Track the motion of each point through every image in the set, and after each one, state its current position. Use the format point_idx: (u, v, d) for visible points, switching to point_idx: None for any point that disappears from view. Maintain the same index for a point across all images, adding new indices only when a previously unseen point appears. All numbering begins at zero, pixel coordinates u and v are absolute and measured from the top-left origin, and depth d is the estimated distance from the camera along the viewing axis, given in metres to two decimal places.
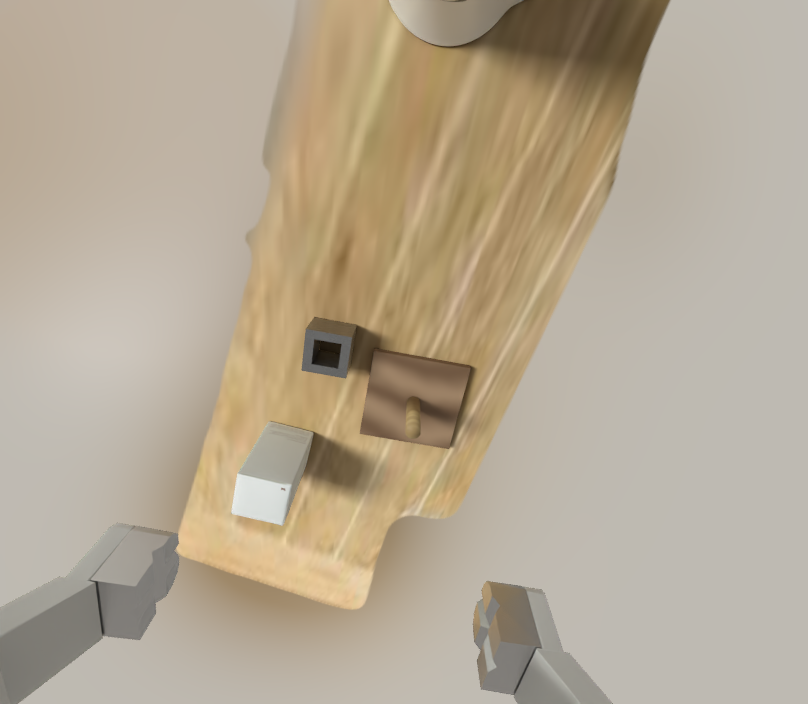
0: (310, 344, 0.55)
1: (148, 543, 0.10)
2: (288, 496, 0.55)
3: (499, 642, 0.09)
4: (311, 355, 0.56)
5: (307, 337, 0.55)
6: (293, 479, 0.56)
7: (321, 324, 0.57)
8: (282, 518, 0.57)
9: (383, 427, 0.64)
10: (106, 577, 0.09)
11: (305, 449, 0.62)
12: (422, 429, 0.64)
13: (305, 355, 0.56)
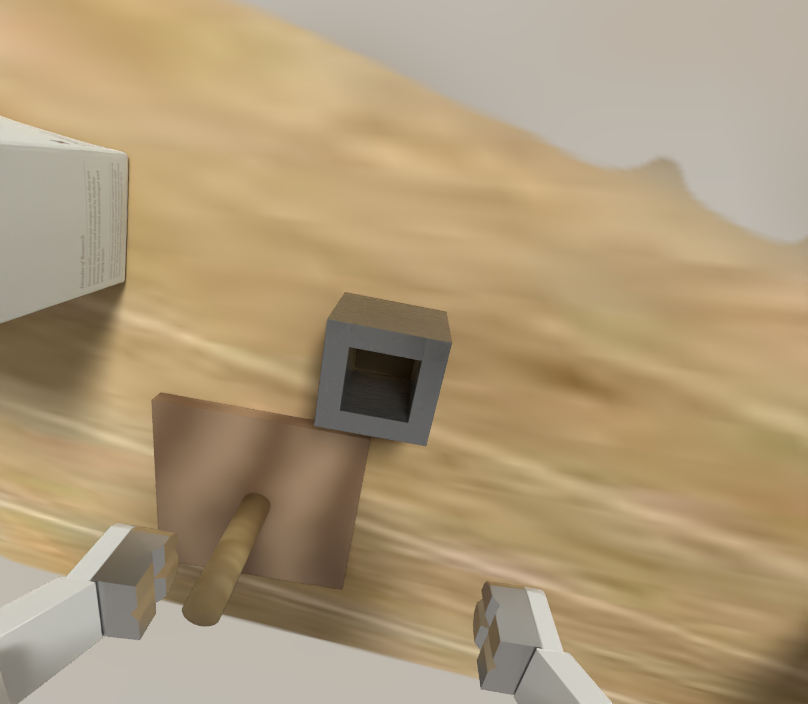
0: (408, 351, 0.20)
1: (148, 543, 0.10)
2: None
3: (499, 642, 0.09)
4: (374, 349, 0.20)
5: (427, 344, 0.20)
6: None
7: None
8: None
9: (180, 448, 0.28)
10: (106, 577, 0.09)
11: (62, 300, 0.20)
12: (194, 518, 0.30)
13: (374, 334, 0.20)
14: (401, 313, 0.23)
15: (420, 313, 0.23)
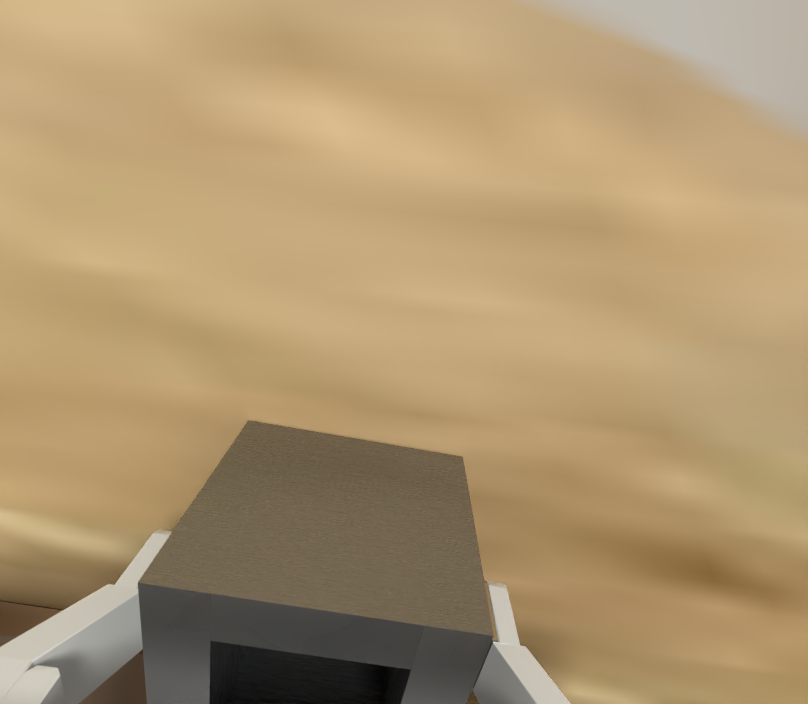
0: (373, 651, 0.07)
1: None
2: None
3: None
4: (280, 643, 0.07)
5: (424, 638, 0.07)
6: None
7: None
8: None
9: None
10: None
11: None
12: None
13: (275, 617, 0.07)
14: (363, 489, 0.10)
15: (408, 477, 0.11)
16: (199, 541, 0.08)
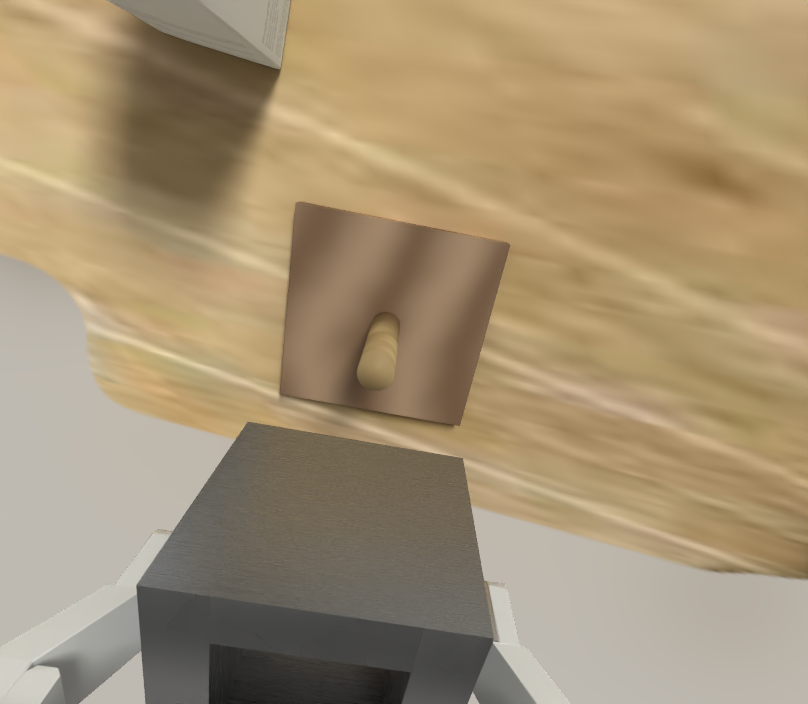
0: (372, 654, 0.07)
1: None
2: None
3: None
4: (279, 646, 0.07)
5: (424, 641, 0.07)
6: None
7: None
8: None
9: (317, 259, 0.28)
10: None
11: (252, 42, 0.21)
12: (321, 343, 0.30)
13: (274, 619, 0.07)
14: (363, 491, 0.10)
15: (407, 479, 0.11)
16: (198, 543, 0.08)
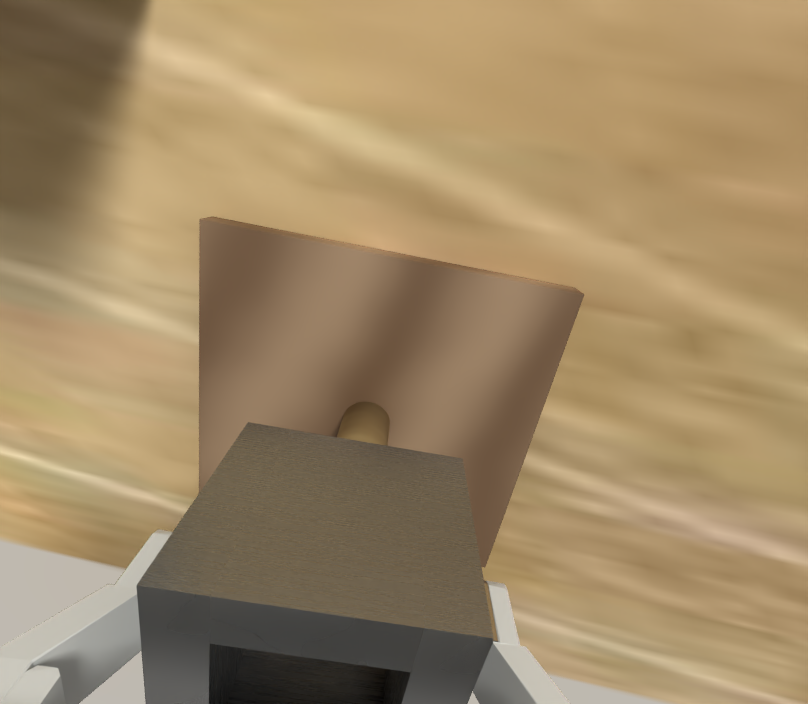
0: (372, 654, 0.07)
1: None
2: None
3: None
4: (279, 646, 0.07)
5: (424, 641, 0.07)
6: None
7: None
8: None
9: (244, 317, 0.16)
10: None
11: None
12: None
13: (274, 619, 0.07)
14: (363, 491, 0.10)
15: (407, 479, 0.11)
16: (198, 543, 0.08)
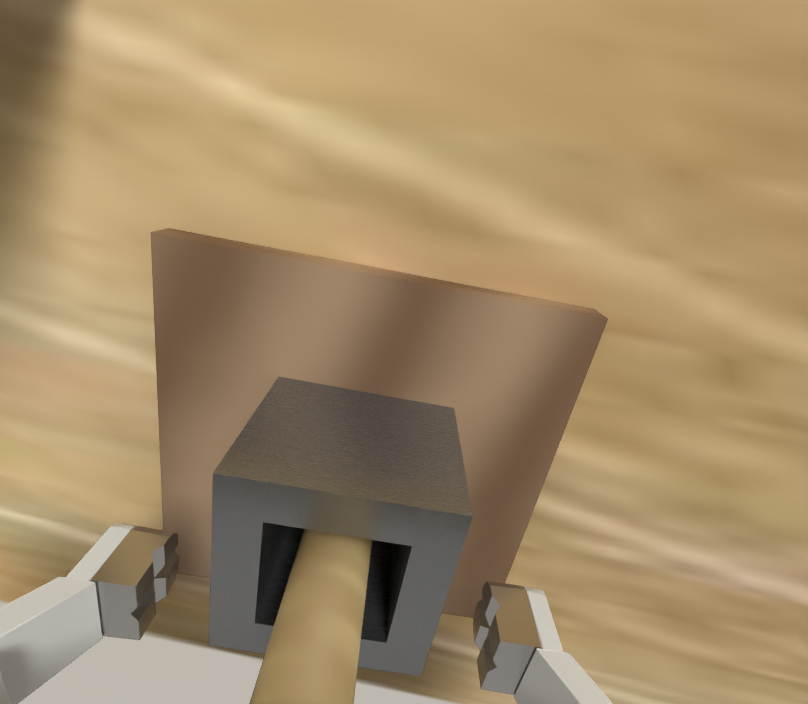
0: (384, 530, 0.10)
1: (148, 543, 0.10)
2: None
3: (499, 642, 0.09)
4: (314, 525, 0.10)
5: (422, 519, 0.10)
6: None
7: None
8: None
9: (209, 346, 0.14)
10: (106, 577, 0.09)
11: None
12: None
13: (312, 501, 0.10)
14: (374, 426, 0.12)
15: (409, 419, 0.13)
16: (252, 452, 0.10)
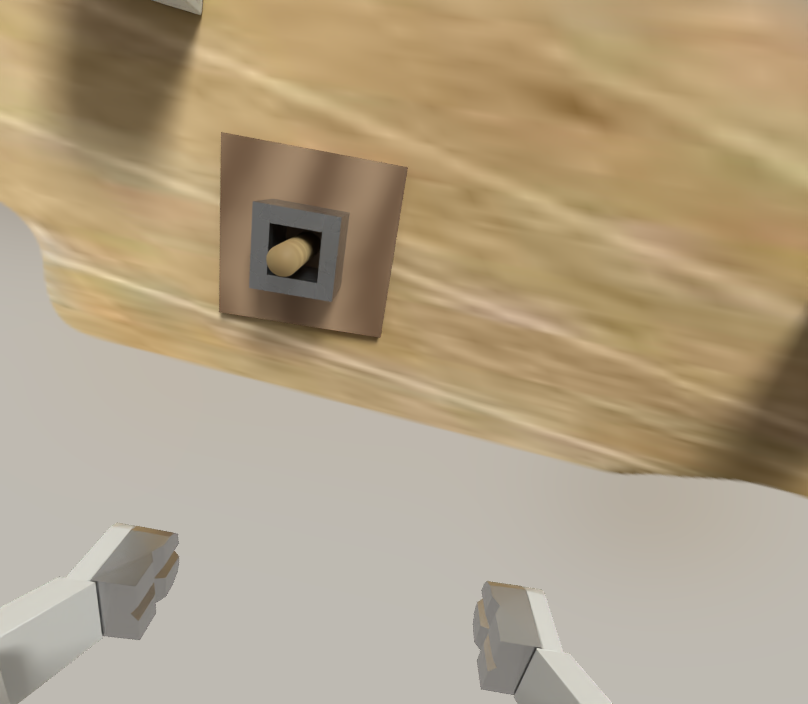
0: (311, 225, 0.29)
1: (148, 543, 0.10)
2: None
3: (499, 642, 0.09)
4: (287, 224, 0.29)
5: (324, 219, 0.29)
6: None
7: (343, 235, 0.32)
8: None
9: (243, 184, 0.33)
10: (106, 577, 0.09)
11: None
12: None
13: (286, 212, 0.29)
14: (312, 207, 0.31)
15: (327, 210, 0.32)
16: (265, 202, 0.29)
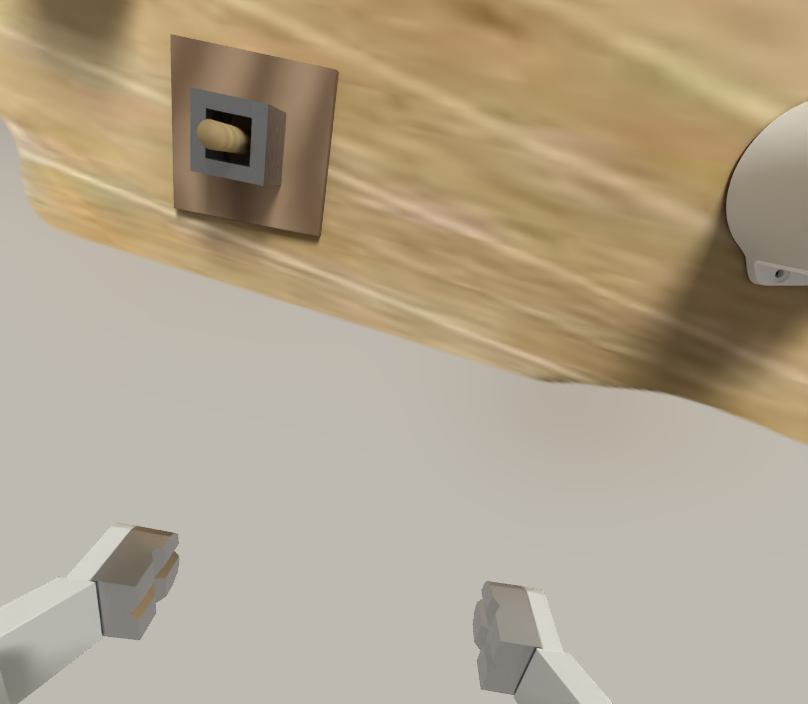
0: (242, 110, 0.33)
1: (148, 543, 0.10)
2: None
3: (499, 642, 0.09)
4: (221, 109, 0.33)
5: (253, 105, 0.33)
6: None
7: (277, 128, 0.36)
8: None
9: (191, 84, 0.37)
10: (106, 577, 0.09)
11: None
12: None
13: (219, 97, 0.33)
14: None
15: None
16: None
